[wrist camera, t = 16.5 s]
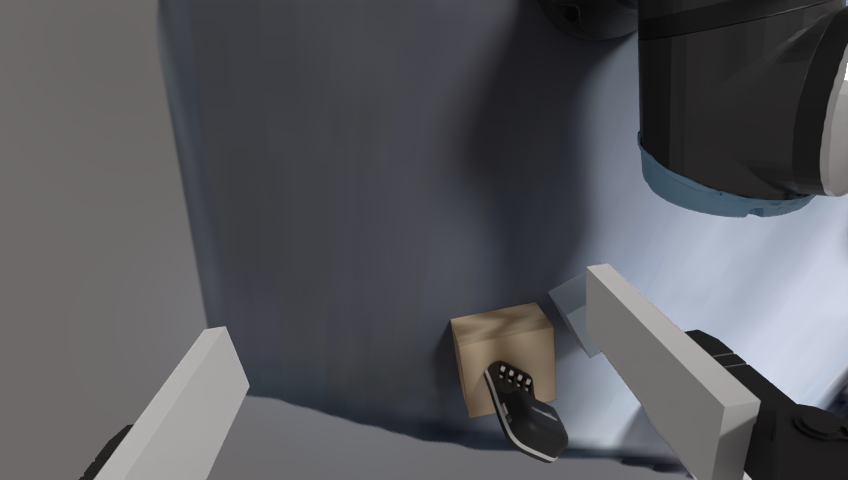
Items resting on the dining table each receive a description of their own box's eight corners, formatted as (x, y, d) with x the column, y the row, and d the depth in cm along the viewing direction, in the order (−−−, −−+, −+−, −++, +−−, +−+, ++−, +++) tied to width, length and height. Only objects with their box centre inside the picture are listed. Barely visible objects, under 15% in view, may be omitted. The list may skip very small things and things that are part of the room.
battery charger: (539, 372, 53) (580, 446, 42) (521, 392, 54) (556, 470, 43) (497, 351, 51) (530, 423, 40) (479, 372, 52) (507, 448, 41)
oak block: (535, 302, 56) (553, 327, 50) (539, 370, 61) (556, 399, 55) (450, 319, 55) (459, 346, 50) (460, 386, 60) (469, 418, 55)
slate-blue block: (599, 261, 55) (624, 282, 49) (619, 303, 58) (645, 327, 52) (547, 291, 56) (566, 315, 50) (569, 331, 59) (589, 358, 53)
